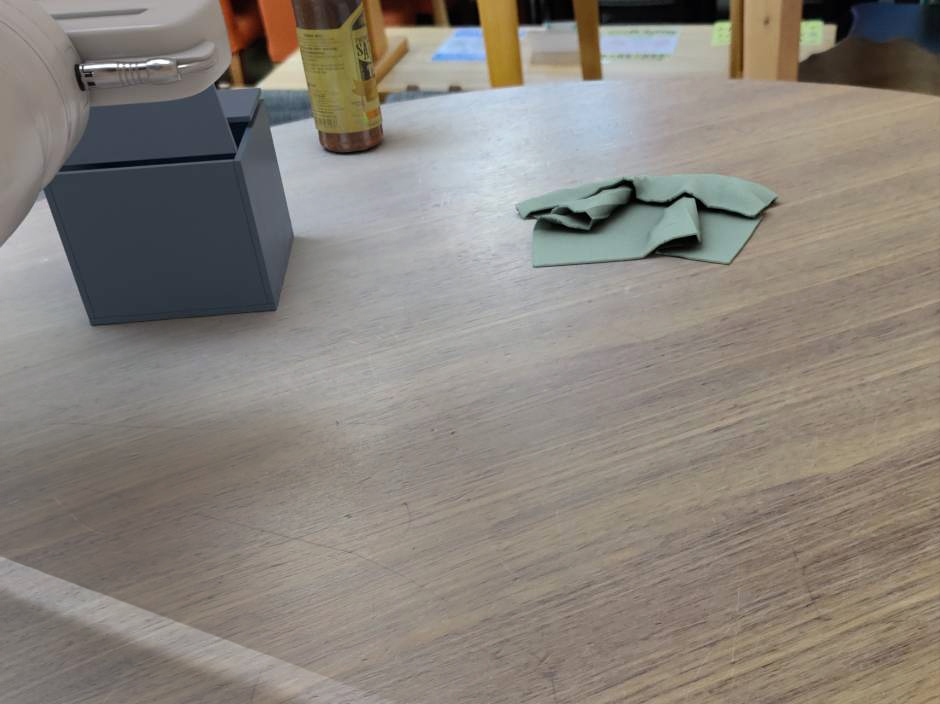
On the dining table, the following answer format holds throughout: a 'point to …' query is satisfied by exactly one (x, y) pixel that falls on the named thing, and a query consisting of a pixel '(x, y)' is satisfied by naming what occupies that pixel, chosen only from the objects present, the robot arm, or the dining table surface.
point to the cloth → (646, 218)
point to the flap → (155, 130)
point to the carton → (179, 227)
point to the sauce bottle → (339, 73)
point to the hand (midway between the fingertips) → (53, 15)
